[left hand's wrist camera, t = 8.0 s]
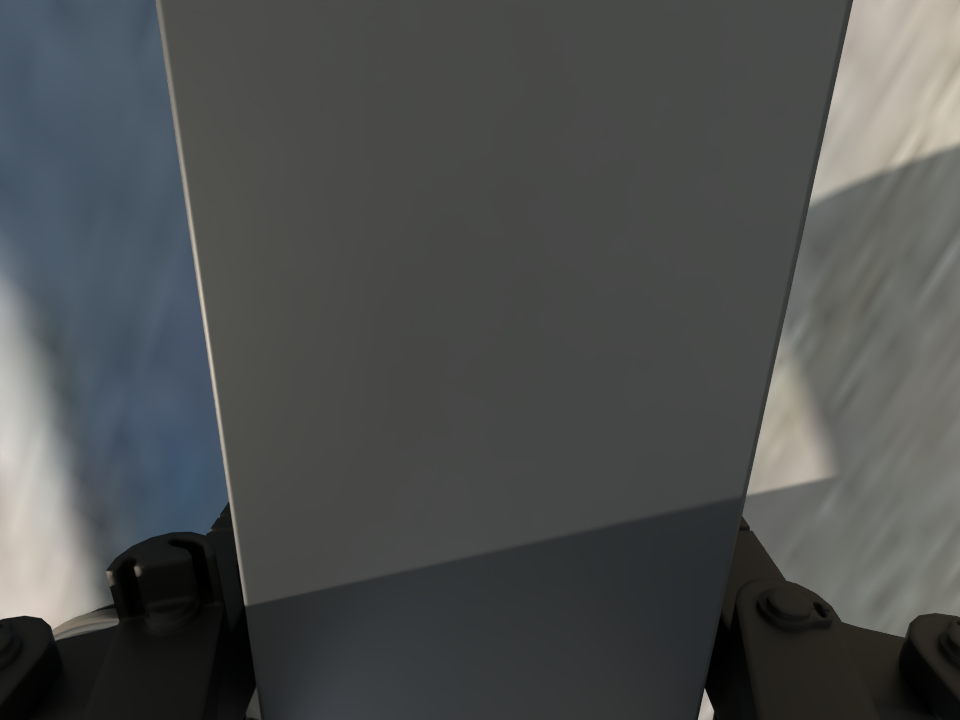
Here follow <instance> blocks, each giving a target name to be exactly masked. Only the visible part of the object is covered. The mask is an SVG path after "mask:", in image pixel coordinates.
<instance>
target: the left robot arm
mask: <svg viewBox="0 0 960 720" xmlns="http://www.w3.org/2000/svg"><path fill="white" fill-rule="evenodd" d="M106 574H107V578H108V581H109V585H110V589H111V592H112V596H113V600H114V603H115V607H116V608H112V609H105V610H99V611H95V612H91V613H87V614H84V615H81V616H79V617H76V618H73V619H71V620H69V621H67V622H65V623H63V624H62V625H60V626H58V627H57V628H55V629H54V630H52V629H51V626H50V625H49V624H47V623H46V622H45V621H44V620H43V619H42V618H36V617H30V616H20V617H13V618H6V619H2V620H0V720H261V713H260V706H259V700H258V693H257V686H256V679H255V673H254V666H253V659H252V652H251V645H250V639H249V632H248V625H247V618H246V611H245V605H244V598H243V591H242V584H241V577H240V571H239V564H238V557H237V550H236V543H235V537H234V530H233V523H232V516H231V509H230V503H229V502H228V504H227V505H226V507H225V508H224V510H223V511H222V513H221V514H220V518H218V519H217V520H216V521H215V523H214V524H213V526H212V527H211V529H210V533H207V535H206V536H205V535H201V534H197V533H193V532H172V533H168V534H164V535H160V536H156V537H152V538H149V539H147V540H145V541H143V542H141V543H138V544H136V545H134V546H132V547H130V548H129V549H128V550H126V551H125V552H124V553H122V554H121V555H119V556H118V557H117V558H116V559H115V560H114V561H113V562H112V564H111V565H110V566H109V568H108V569H107V570H106ZM705 689H706V692H707V694H708V697H709V699H710V702H711V704H712V707H713V709H714V715H713V720H960V617H958V616H952V615H945V614H938V613H933V614H926V615H920V616H918V617H917V618H916V619H914V620H913V621H912V622H911V623H910V624H909V627H908V630H907V633H906V637H905V638H903V637H899V636H895V635H890V634H886V633H882V632H877V631H873V630H869V629H864V628H860V627H856V626H853V625H850V624H846V623H843V622H841V620H840V618H839V617H838V615H837V614H836V612H835V611H834V609H833V608H832V606H831V605H829V604H828V603H827V602H826V601H825V600H823V599H822V598H821V597H820V596H819V595H817V594H816V593H814V592H812V591H810V590H808V589H806V588H804V587H802V586H800V585H798V584H796V583H792V582H788V581H786V579H785V578H784V577H783V575H782V574H781V572H780V571H779V569H778V568H777V566H776V565H775V563H774V562H773V560H772V559H771V558H770V556H769V555H768V553H767V552H766V550H765V549H764V547H763V546H762V544H761V543H760V542H759V540H758V539H757V537H756V536H755V534H754V533H753V531H750V527H749V525H748V524H747V523H746V521H745V520H744V518H743V517H741V522H740V526H739V531H738V535H737V540H736V545H735V549H734V554H733V559H732V563H731V568H730V572H729V577H728V582H727V586H726V591H725V596H724V600H723V605H722V610H721V614H720V619H719V623H718V628H717V633H716V637H715V642H714V647H713V651H712V656H711V660H710V665H709V670H708V674H707V679H706V684H705Z"/></svg>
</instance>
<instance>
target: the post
mask: <svg viewBox="0 0 960 720" xmlns="http://www.w3.org/2000/svg"><path fill="white" fill-rule="evenodd" d="M852 3H853V0H156V7H157V13H158V20H159V27H160V34H161V41H162V47H163V54H164V61H165V68H166V75H167V81H168V88H169V95H170V102H171V109H172V115H173V122H174V129H175V136H176V143H177V149H178V156H179V163H180V170H181V177H182V183H183V190H184V197H185V204H186V211H187V217H188V224H189V231H190V238H191V244H192V251H193V258H194V265H195V272H196V278H197V285H198V292H199V299H200V306H201V312H202V319H203V326H204V333H205V340H206V346H207V353H208V360H209V367H210V374H211V380H212V387H213V394H214V401H215V408H216V414H217V421H218V428H219V435H220V442H221V448H222V455H223V462H224V469H225V475H226V482H227V489H228V496H229V503H230V509H231V516H232V523H233V530H234V537H235V543H236V550H237V557H238V564H239V571H240V577H241V584H242V591H243V598H244V605H245V611H246V618H247V625H248V632H249V639H250V645H251V652H252V659H253V666H254V673H255V679H256V686H257V693H258V700H259V706H260V713H261V720H698V716H699V711H700V707H701V702H702V698H703V693H704V688H705V684H706V679H707V674H708V670H709V665H710V660H711V656H712V651H713V647H714V642H715V637H716V633H717V628H718V623H719V619H720V614H721V610H722V605H723V600H724V596H725V591H726V586H727V582H728V577H729V572H730V568H731V563H732V559H733V554H734V549H735V545H736V540H737V535H738V531H739V526H740V522H741V517H742V512H743V508H744V503H745V498H746V494H747V489H748V484H749V480H750V475H751V471H752V466H753V461H754V457H755V452H756V447H757V443H758V438H759V434H760V429H761V424H762V420H763V415H764V410H765V406H766V401H767V396H768V392H769V387H770V383H771V378H772V373H773V369H774V364H775V359H776V355H777V350H778V345H779V341H780V336H781V332H782V327H783V322H784V318H785V313H786V308H787V304H788V299H789V295H790V290H791V285H792V281H793V276H794V271H795V267H796V262H797V257H798V253H799V248H800V244H801V239H802V234H803V230H804V225H805V220H806V216H807V211H808V207H809V202H810V197H811V193H812V188H813V183H814V179H815V174H816V169H817V165H818V160H819V156H820V151H821V146H822V142H823V137H824V132H825V128H826V123H827V119H828V114H829V109H830V105H831V100H832V95H833V91H834V86H835V81H836V77H837V72H838V68H839V63H840V58H841V54H842V49H843V44H844V40H845V35H846V31H847V26H848V21H849V17H850V12H851V7H852Z"/></svg>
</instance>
